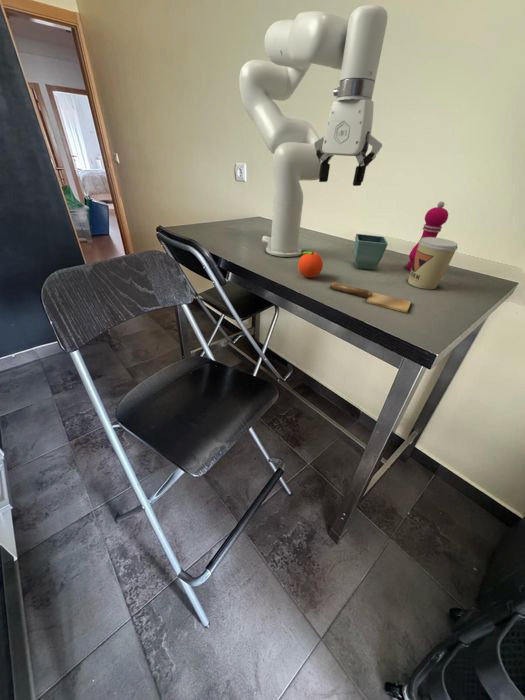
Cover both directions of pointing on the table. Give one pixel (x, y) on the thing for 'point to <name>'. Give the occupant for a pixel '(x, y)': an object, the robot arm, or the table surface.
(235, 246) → the table surface
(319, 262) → the clementine
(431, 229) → the pepper mill
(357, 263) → the flower pot
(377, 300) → the spatula
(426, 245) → the coffee cup
